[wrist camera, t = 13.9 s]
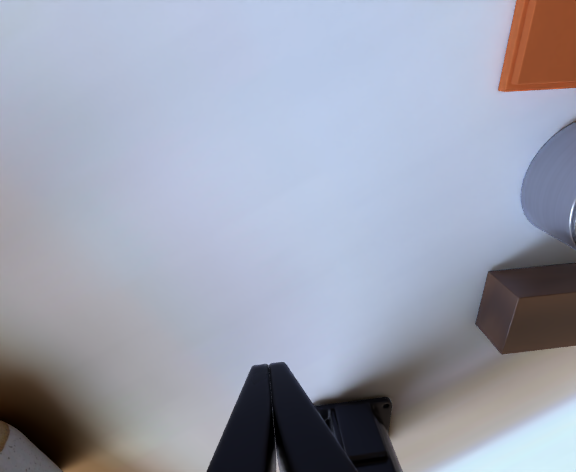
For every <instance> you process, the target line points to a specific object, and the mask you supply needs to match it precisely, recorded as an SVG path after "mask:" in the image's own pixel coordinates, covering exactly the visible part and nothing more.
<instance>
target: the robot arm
mask: <svg viewBox="0 0 576 472" xmlns="http://www.w3.org/2000/svg"><path fill="white" fill-rule="evenodd" d="M269 374H270V376H269ZM270 385H271V387H270ZM271 397H272V399H271ZM272 408H273V410H272ZM391 410H392V403H391V400H390V399H389V398H388V397H383V398H375V399H367V400H359V401H351V402H343V403H336V404H328V405H320V406H314V405H313V404H312V402H311V401H310V399H309V398H308V396H307V395H306V393H305V392H304V390H303V389H302V387H301V386H300V384H299V383H298V381H297V380H296V378H295V377H294V375H293V374H292V372H291V371H290V369H289V368H288V366H287V365H286V364H285V363H284V362H278V363H271V364H270V365H269V366H268V365H267V364H261V365H254V366H252V368H251V370H250V372H249V374H248V377H247V379H246V381H245V384H244V386H243V388H242V391H241V393H240V395H239V398H238V400H237V402H236V405H235V407H234V409H233V412H232V414H231V416H230V418H229V421H228V423H227V425H226V428H225V430H224V432H223V435H222V437H221V439H220V442H219V444H218V446H217V449H216V451H215V453H214V456H213V458H212V460H211V462H210V465H209V467H208V469H207V472H276V452H277V459H278V465H279V470H280V472H403V471H402V469H401V466H400V464H399V461H398V458H397V456H396V453H395V451H394V448H393V445H392V443H391V440H390V438H389V435H388V432H389V425H390V417H391ZM273 420H274V422H273ZM274 431H275V433H274ZM275 442H276V445H275Z"/></svg>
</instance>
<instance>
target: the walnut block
mask: <svg viewBox="0 0 576 472" xmlns="http://www.w3.org/2000/svg"><path fill="white" fill-rule="evenodd" d="M475 324H476V326H477V327H478V328H479V329H480V330H481V331H482V332H483V334H484V335H485V336H486V337H487V338H488V339H489V340H490V342H491V343H492V344H493V345H494V346H495V347H496V349H497V350H498V351H499V352H500V353H501V354H510V353H518V352H526V351H535V350H543V349H551V348H559V347H568V346H576V263H569V264H559V265H549V266H539V267H529V268H519V269H509V270H499V271H489V272H488V275H487V279H486V283H485V287H484V291H483V295H482V299H481V303H480V307H479V311H478V315H477V319H476V323H475Z"/></svg>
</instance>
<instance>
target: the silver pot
mask: <svg viewBox="0 0 576 472" xmlns="http://www.w3.org/2000/svg"><path fill="white" fill-rule="evenodd" d="M521 203H522V208H523V211H524V213H525V215H526V217H527V219H528V220H529V221H530V222H531V223H532V224H533V225H534V226H536V227H537V228H539V229H540V230H542V231H544V232H546V233H547V234H549V235H551V236H553V237H554V238H556V239H558V240H559V241H561V242H563V243H565V244H566V245H568V246H570V247H572V248H573V249H575V250H576V122H574V123H572V124H570V125H568V126H567V127H565V128H564V129H562V130H561V131H559V132H558V133H557V134H556V135H554V136H553V137H552V138H551V139H550V140H549V141H548V142H547V143H546V144H545V145H544V146H543V147H542V148H541V149H540V151H539V152H538V153H537V155H536V156H535V157H534V159H533V161H532V162H531V164H530V166H529V168H528V170H527V172H526V175H525V177H524V180H523V184H522V190H521Z"/></svg>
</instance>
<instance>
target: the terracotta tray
mask: <svg viewBox="0 0 576 472" xmlns="http://www.w3.org/2000/svg"><path fill="white" fill-rule="evenodd" d="M563 88H576V0H517V1H516V6H515V11H514V16H513V21H512V25H511V30H510V35H509V40H508V45H507V49H506V54H505V59H504V64H503V69H502V74H501V78H500V83H499V88H498V90H499V91H503V92H509V91H527V90H545V89H563Z"/></svg>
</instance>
